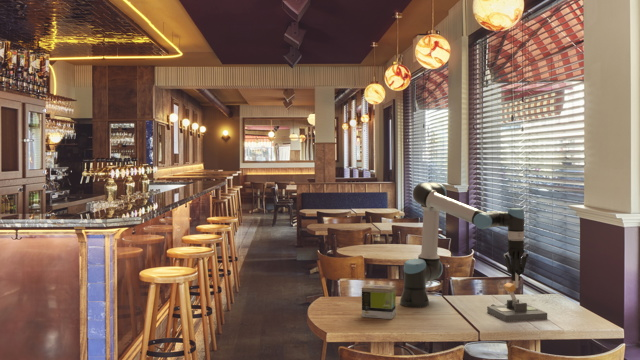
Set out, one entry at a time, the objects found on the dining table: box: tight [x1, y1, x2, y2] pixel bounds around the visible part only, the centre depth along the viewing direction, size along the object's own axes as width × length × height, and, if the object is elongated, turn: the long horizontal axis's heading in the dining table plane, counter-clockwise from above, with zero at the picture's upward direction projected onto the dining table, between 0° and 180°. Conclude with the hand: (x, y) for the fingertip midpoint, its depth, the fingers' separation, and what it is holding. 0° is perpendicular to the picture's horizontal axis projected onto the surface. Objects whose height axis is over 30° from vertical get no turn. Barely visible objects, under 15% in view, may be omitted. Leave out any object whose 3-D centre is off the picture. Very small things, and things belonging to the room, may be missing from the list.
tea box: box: [361, 283, 397, 320], centre depth 288 cm, size 15×10×15 cm, turn 71°
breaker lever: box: [503, 282, 518, 307], centre depth 289 cm, size 3×5×13 cm, turn 12°
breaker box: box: [486, 298, 548, 323], centre depth 293 cm, size 22×26×7 cm
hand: (515, 287), depth 289 cm, fingers closed
